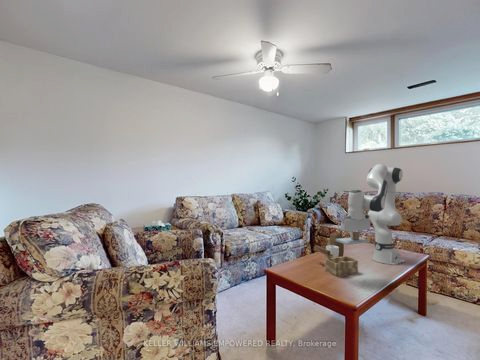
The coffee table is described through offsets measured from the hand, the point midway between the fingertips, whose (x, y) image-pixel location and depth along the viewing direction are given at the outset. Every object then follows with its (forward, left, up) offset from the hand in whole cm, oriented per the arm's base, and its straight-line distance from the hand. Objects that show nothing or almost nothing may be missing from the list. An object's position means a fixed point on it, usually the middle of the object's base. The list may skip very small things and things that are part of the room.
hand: (355, 237), depth 150 cm
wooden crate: (+2, -10, -26) cm, 27 cm away
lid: (+2, 0, -3) cm, 3 cm away
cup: (-4, -26, -26) cm, 37 cm away
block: (-14, -33, -26) cm, 44 cm away
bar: (+7, -24, -16) cm, 30 cm away
